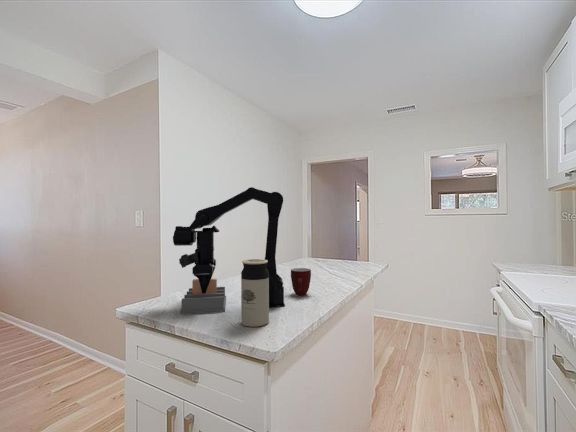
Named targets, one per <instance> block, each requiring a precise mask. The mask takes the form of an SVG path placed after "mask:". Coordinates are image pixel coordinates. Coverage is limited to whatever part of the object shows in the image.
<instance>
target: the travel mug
mask: <svg viewBox="0 0 576 432" xmlns="http://www.w3.org/2000/svg"><path fill="white" fill-rule="evenodd" d="M264 259H265V258H264ZM264 259H262V258H261V259H260V258H251V259H250V258H249V259H243V260H242V261H241V263H242V266H243V268H242V270H241V272H240V279H241V280H240V282H241V283H240V284H241V287H240V289H241V291H240V293H241V295H240V298H241V302H240V303H241V305H240V306H241V309H240V310H241V313H240V315H241V317H240V321H241V324H242V325H244V326H245V327H250V328H257V327H262V326H265V325H267V324H269V322H270V307H269V271H268V269H267V267H266V266H267V262H268V261H267V260H264Z"/></svg>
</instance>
